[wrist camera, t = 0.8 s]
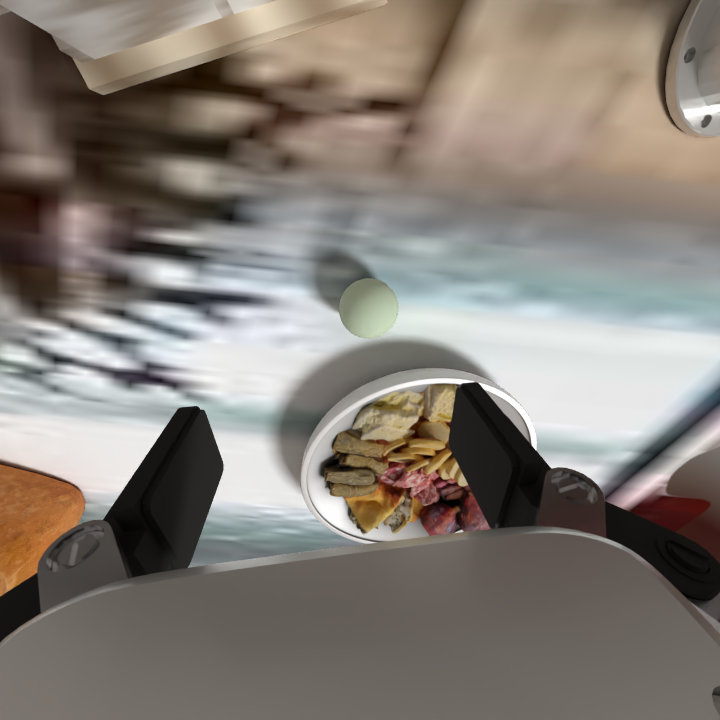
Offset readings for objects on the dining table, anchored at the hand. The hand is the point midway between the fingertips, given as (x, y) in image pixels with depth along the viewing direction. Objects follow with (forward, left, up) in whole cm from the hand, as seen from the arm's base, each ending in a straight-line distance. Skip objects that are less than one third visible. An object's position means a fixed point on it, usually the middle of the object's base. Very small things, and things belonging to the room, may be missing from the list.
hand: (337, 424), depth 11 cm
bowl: (-4, +26, -22) cm, 34 cm away
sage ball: (-3, +3, -18) cm, 19 cm away
